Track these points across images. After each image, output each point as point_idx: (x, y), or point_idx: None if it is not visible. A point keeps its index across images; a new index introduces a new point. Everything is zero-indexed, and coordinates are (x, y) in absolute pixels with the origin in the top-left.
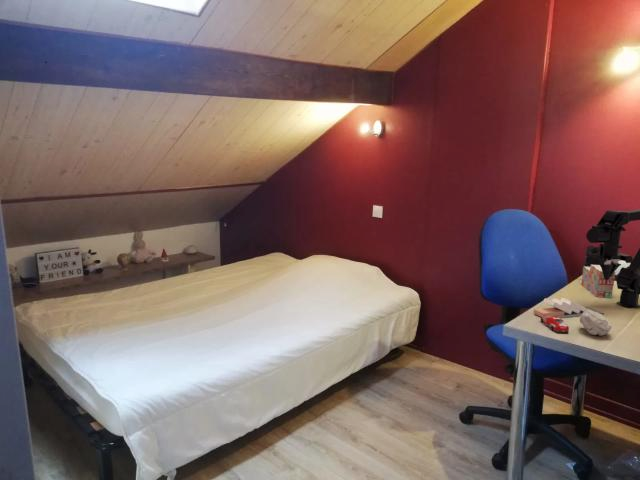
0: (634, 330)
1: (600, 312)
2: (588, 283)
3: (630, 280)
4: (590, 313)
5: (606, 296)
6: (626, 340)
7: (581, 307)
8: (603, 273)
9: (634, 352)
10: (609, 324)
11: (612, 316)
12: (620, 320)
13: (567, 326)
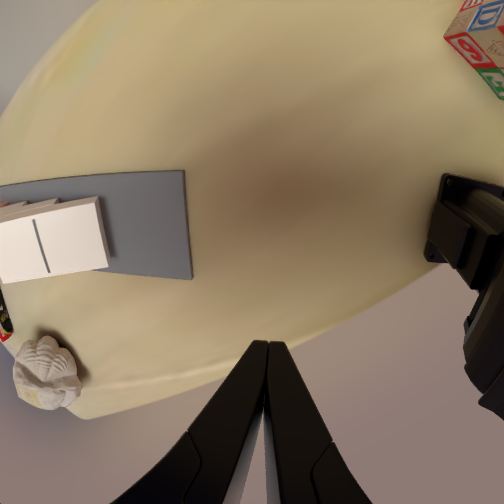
0: (175, 394)
1: (180, 270)
2: None
3: (482, 386)
4: (18, 394)
5: (489, 79)
6: (110, 402)
7: (62, 270)
8: (208, 410)
9: (95, 417)
10: (66, 403)
11: (209, 310)
12: (203, 345)
13: (1, 341)
